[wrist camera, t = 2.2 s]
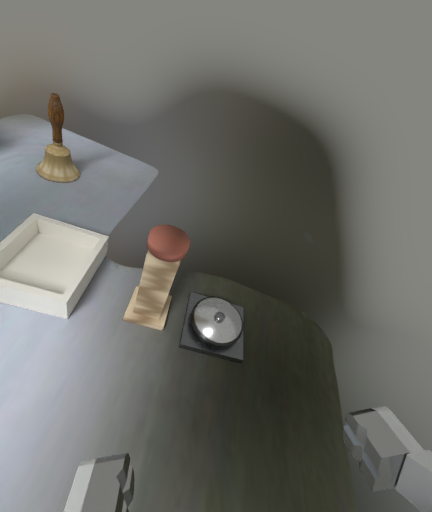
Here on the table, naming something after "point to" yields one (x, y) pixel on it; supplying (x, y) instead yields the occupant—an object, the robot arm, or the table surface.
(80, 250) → the tray
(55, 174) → the hand bell
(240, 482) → the table surface
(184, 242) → the beige red tall post
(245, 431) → the table surface
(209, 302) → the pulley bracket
